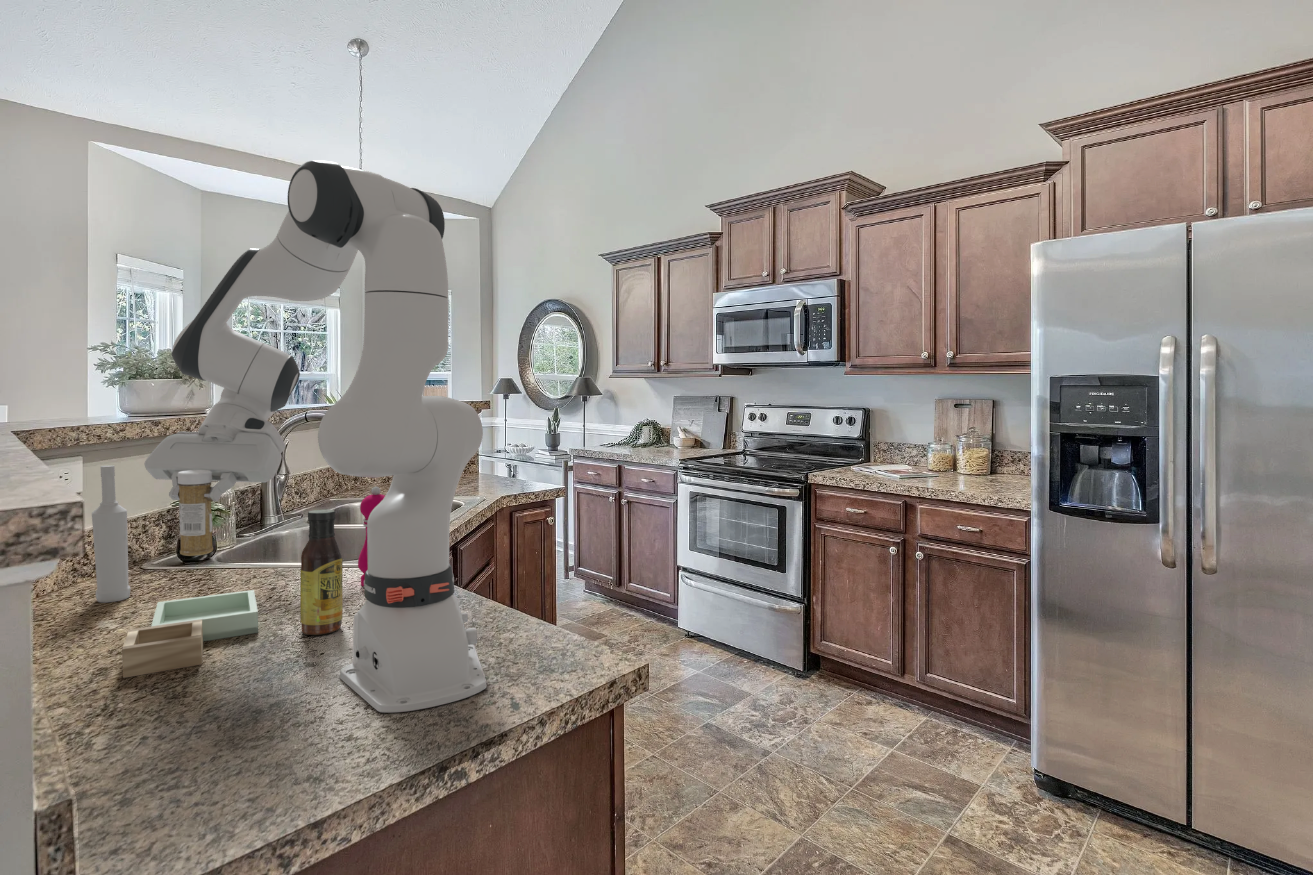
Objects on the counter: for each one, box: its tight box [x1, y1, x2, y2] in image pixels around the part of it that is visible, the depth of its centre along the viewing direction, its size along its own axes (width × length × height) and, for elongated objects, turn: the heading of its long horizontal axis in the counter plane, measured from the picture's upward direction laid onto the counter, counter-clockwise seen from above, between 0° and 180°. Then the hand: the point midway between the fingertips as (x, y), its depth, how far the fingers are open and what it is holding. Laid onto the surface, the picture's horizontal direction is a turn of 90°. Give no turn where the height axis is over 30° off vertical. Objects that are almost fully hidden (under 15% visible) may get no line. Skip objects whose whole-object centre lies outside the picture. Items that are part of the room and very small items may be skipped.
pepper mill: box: [357, 486, 386, 588], centre depth 139 cm, size 7×7×20 cm
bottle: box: [91, 465, 131, 604], centre depth 127 cm, size 5×5×25 cm
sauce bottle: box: [299, 509, 344, 636], centre depth 112 cm, size 6×6×20 cm
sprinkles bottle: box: [178, 470, 214, 557], centre depth 110 cm, size 5×5×13 cm
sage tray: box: [150, 589, 259, 642], centre depth 113 cm, size 14×14×4 cm
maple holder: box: [121, 619, 204, 679], centre depth 100 cm, size 9×9×4 cm
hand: (192, 498), depth 109 cm, fingers closed on sprinkles bottle, 4 cm apart
